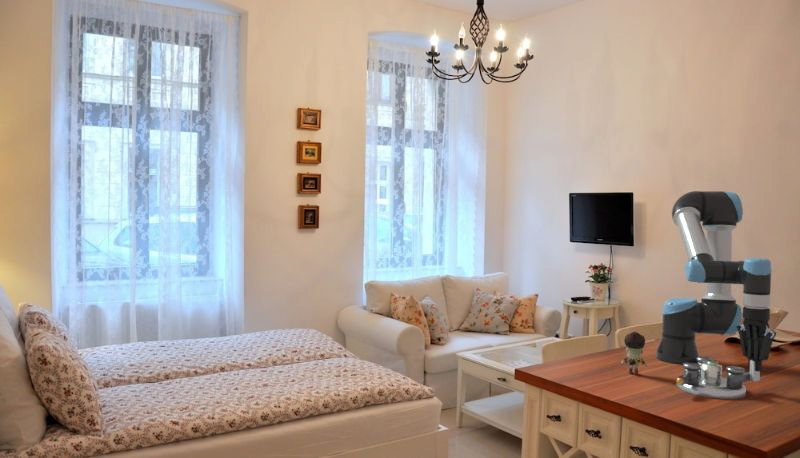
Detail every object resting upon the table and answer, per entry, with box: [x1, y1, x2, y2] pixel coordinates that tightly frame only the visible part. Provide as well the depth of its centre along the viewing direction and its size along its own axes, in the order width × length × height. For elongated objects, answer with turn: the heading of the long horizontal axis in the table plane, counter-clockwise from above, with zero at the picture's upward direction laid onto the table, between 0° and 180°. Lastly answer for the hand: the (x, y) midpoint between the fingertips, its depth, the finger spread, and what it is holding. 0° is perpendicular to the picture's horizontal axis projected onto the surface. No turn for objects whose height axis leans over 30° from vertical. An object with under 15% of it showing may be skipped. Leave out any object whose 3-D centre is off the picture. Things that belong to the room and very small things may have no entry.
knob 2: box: [696, 355, 719, 377], centre depth 213 cm, size 13×5×6 cm, turn 136°
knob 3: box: [725, 365, 751, 389], centre depth 200 cm, size 13×5×6 cm, turn 119°
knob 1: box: [676, 362, 701, 386], centre depth 199 cm, size 13×5×6 cm, turn 136°
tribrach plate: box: [676, 361, 747, 400], centre depth 203 cm, size 20×20×9 cm
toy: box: [620, 331, 648, 375], centre depth 219 cm, size 9×7×15 cm
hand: (754, 380), depth 201 cm, fingers closed
